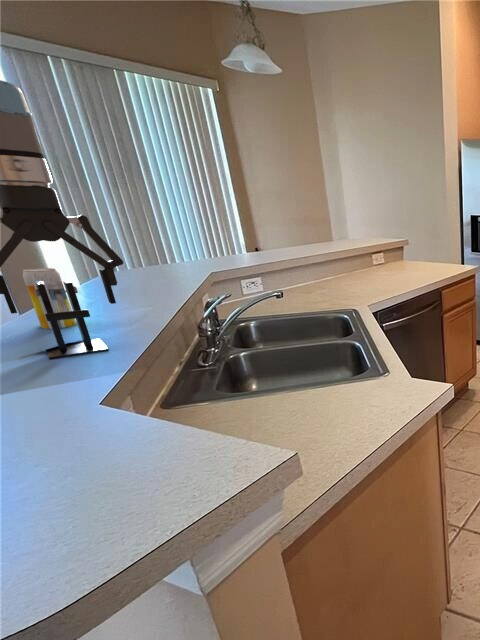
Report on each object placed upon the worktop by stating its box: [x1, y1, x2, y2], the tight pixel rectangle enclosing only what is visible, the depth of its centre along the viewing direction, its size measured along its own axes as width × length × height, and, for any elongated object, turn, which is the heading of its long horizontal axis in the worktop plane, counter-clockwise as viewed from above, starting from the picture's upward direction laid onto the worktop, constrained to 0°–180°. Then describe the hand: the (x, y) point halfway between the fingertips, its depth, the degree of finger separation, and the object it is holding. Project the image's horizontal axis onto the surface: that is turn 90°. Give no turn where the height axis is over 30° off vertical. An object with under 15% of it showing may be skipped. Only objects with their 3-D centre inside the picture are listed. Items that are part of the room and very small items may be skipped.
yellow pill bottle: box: [22, 267, 77, 330], centre depth 105 cm, size 6×6×15 cm
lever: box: [45, 282, 91, 321], centre depth 87 cm, size 12×6×2 cm, turn 47°
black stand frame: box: [34, 279, 110, 361], centre depth 91 cm, size 11×9×15 cm
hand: (66, 307), depth 84 cm, fingers open, 13 cm apart
